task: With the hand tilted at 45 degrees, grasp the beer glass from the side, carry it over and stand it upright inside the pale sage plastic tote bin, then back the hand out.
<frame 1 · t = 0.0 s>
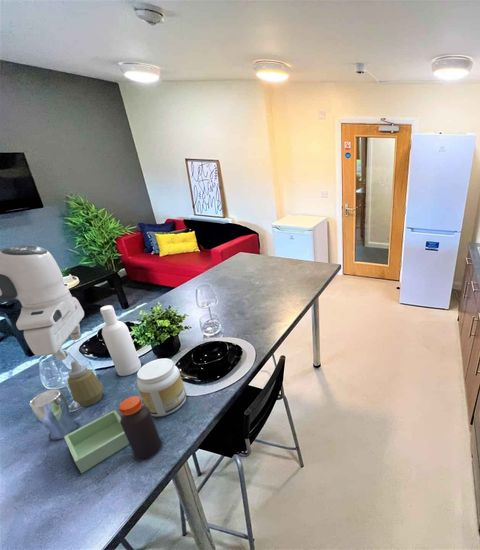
hand: (70, 347, 81), 34 cm above the table, tool pointing down, fingers open, 8 cm apart
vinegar: (148, 449, 90), on the table
beer glass: (64, 431, 94), on the table
supplement tub: (167, 404, 105), on the table
bottle: (129, 369, 120), on the table
squeeze bottle: (92, 400, 106), on the table
tote: (102, 444, 91), on the table
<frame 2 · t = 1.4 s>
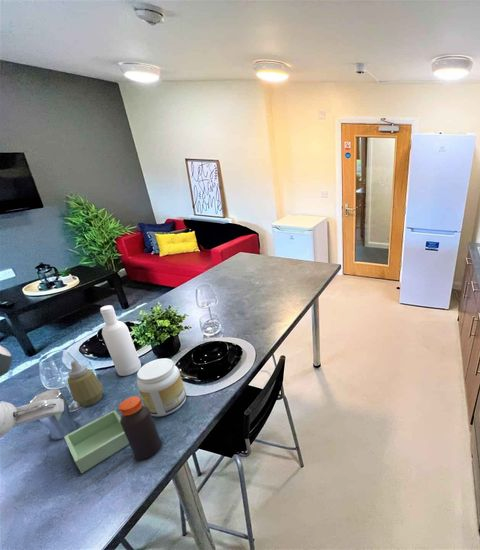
hand: (23, 420, 77), 19 cm above the table, tool tilted 45°, fingers open, 8 cm apart
nothing on the table moved.
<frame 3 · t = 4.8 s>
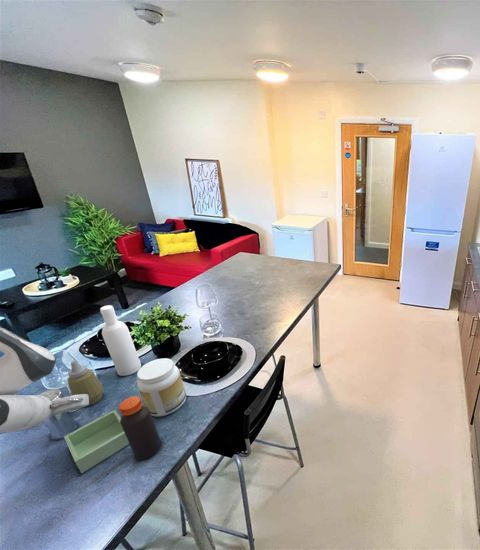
hand: (54, 411, 91), 8 cm above the table, tool tilted 45°, fingers closed on beer glass, 7 cm apart
beer glass: (64, 431, 94), on the table, touching gripper
everything else where it was.
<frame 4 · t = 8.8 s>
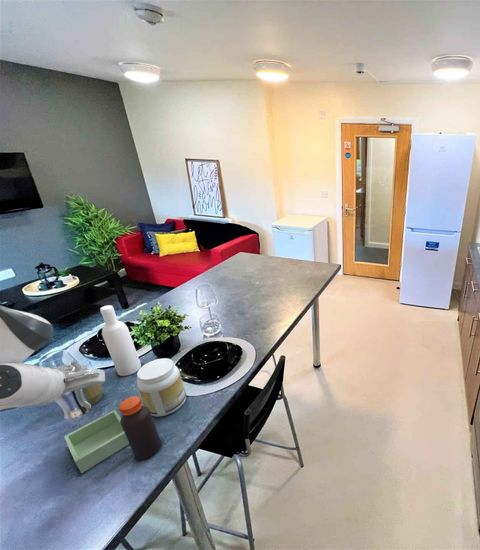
hand: (67, 389, 83), 21 cm above the table, tool tilted 45°, fingers closed on beer glass, 7 cm apart
beer glass: (78, 411, 86), point 13 cm above the table, touching gripper
everything else where it was.
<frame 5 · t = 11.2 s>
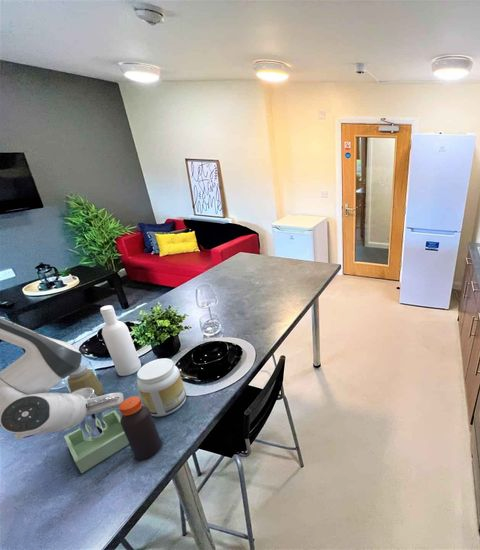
hand: (87, 411, 85), 14 cm above the table, tool tilted 45°, fingers closed on beer glass, 7 cm apart
beer glass: (96, 432, 88), point 5 cm above the table, touching gripper
everything else where it was.
when the fingers open (9 cm above the table, at t = 13.2 s): beer glass stays where it is, resting on tote.
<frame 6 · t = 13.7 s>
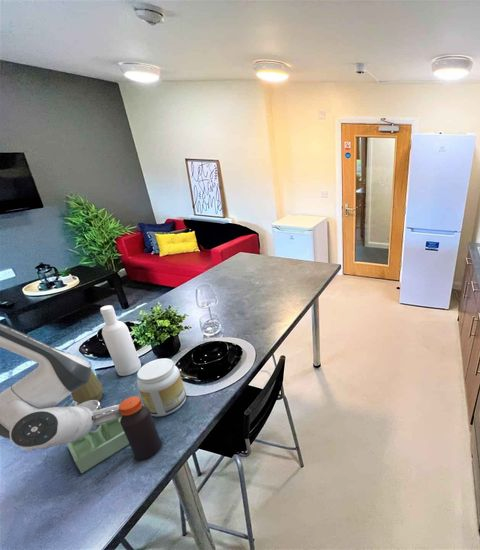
hand: (92, 421, 87), 9 cm above the table, tool tilted 45°, fingers open, 8 cm apart
beer glass: (102, 443, 90), resting on tote
everything else where it was.
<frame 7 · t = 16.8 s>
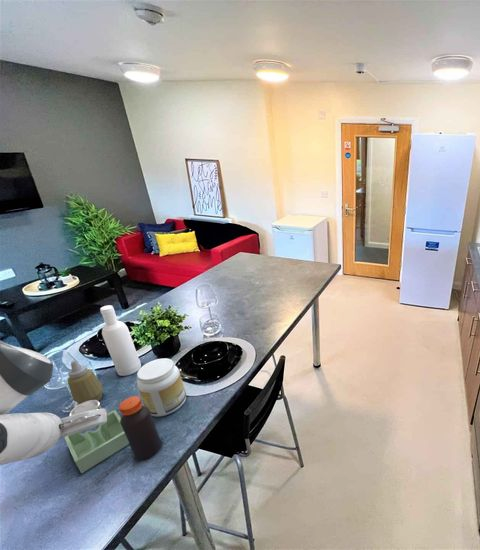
hand: (63, 431, 73), 20 cm above the table, tool tilted 45°, fingers open, 8 cm apart
nothing on the table moved.
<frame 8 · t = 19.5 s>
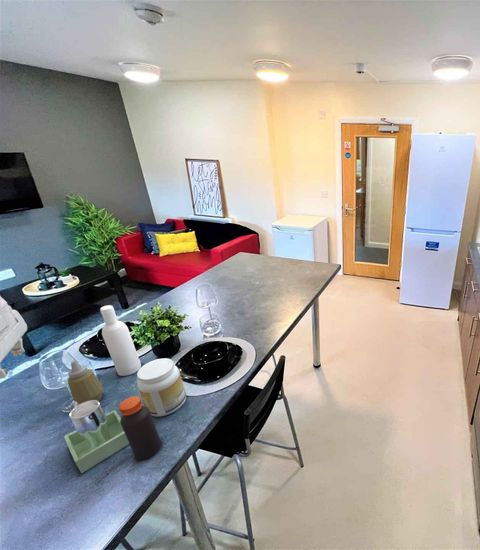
hand: (11, 365, 75), 33 cm above the table, tool pointing down, fingers open, 8 cm apart
nothing on the table moved.
at the end: beer glass inside the target area in the tote (0.0 cm from its centre), point 0.4 cm above the tote's base; beer glass tilted 0°; the gripper is holding nothing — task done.
